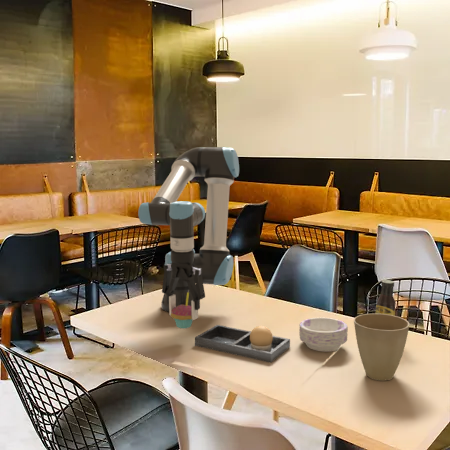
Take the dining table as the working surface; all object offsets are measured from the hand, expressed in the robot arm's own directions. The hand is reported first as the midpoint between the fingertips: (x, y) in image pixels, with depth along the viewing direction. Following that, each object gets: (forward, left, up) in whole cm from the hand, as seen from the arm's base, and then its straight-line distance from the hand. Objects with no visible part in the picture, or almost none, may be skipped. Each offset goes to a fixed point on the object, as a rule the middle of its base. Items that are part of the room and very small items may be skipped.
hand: (183, 316), depth 178 cm
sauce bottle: (+57, +35, -9) cm, 68 cm away
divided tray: (+20, +3, -8) cm, 22 cm away
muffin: (+27, +3, -8) cm, 28 cm away
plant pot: (+63, +5, -9) cm, 64 cm away
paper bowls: (+42, +17, -9) cm, 46 cm away
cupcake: (0, 0, -4) cm, 4 cm away
